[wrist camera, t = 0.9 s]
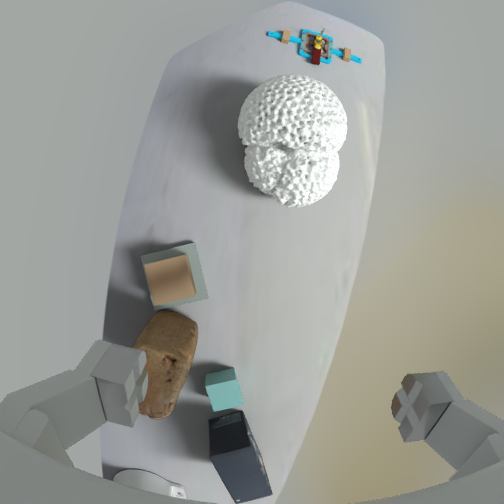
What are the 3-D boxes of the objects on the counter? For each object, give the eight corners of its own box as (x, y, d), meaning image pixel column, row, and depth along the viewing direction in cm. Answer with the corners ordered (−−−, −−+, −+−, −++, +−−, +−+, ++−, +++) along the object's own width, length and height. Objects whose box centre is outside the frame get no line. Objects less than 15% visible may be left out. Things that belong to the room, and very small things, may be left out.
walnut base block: (196, 291, 47) (194, 296, 42) (160, 299, 47) (154, 305, 42) (187, 254, 47) (184, 254, 42) (151, 263, 46) (144, 264, 41)
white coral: (215, 75, 40) (297, 64, 28) (296, 82, 50) (374, 83, 38) (218, 199, 49) (291, 230, 38) (293, 183, 59) (365, 205, 47)
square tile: (208, 297, 49) (208, 298, 48) (155, 309, 48) (154, 310, 47) (194, 242, 48) (194, 242, 47) (141, 255, 47) (140, 255, 46)
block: (161, 301, 48) (130, 336, 28) (203, 320, 49) (198, 366, 29) (140, 357, 48) (104, 414, 28) (180, 375, 48) (165, 441, 29)
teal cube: (241, 391, 50) (243, 404, 45) (213, 397, 49) (213, 411, 44) (233, 367, 50) (236, 379, 45) (205, 373, 49) (205, 386, 44)
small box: (263, 457, 51) (274, 495, 39) (230, 466, 50) (235, 505, 38) (243, 409, 50) (251, 446, 38) (207, 418, 49) (207, 457, 37)
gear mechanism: (358, 82, 52) (359, 50, 52) (370, 69, 47) (369, 37, 47) (263, 54, 50) (270, 23, 50) (268, 38, 44) (275, 8, 45)
